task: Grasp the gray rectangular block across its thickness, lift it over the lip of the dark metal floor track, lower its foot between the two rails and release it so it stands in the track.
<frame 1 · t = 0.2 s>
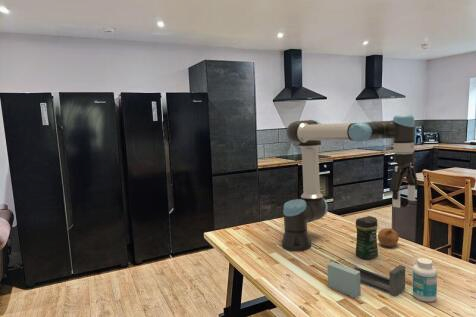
hand: (404, 203, 132), 28 cm above the table, fingers open, 13 cm apart
floor track: (374, 282, 124), on the table
coffee jar: (367, 256, 149), on the table
gray rectangular block: (343, 290, 120), on the table
pill bottle: (424, 297, 112), on the table
onion: (388, 245, 159), on the table
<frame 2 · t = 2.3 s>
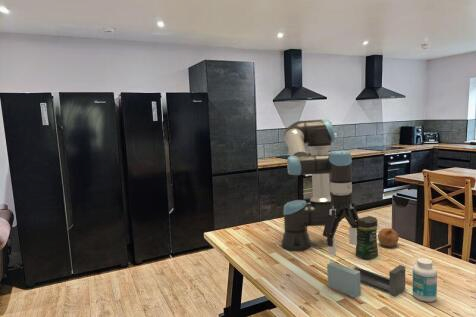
hand: (342, 249, 118), 16 cm above the table, fingers open, 13 cm apart
nothing on the table moved.
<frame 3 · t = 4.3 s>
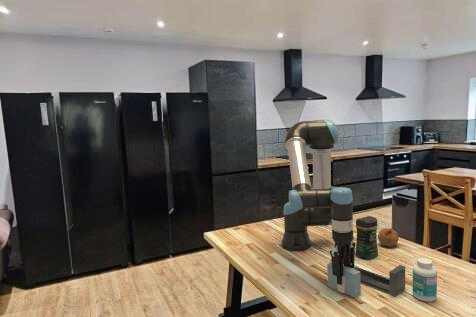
hand: (344, 289, 120), 0 cm above the table, fingers closed on gray rectangular block, 3 cm apart
gray rectangular block: (343, 290, 120), on the table, touching gripper
everything else where it was.
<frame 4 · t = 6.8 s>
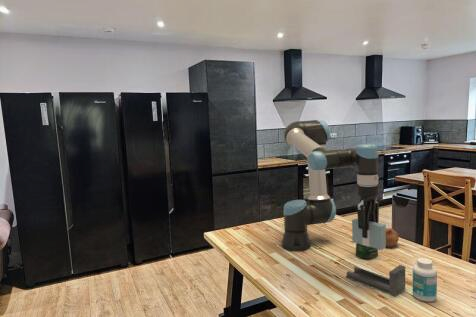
hand: (369, 243, 124), 15 cm above the table, fingers closed on gray rectangular block, 3 cm apart
gray rectangular block: (368, 244, 124), point 15 cm above the table, touching gripper
everything else where it was.
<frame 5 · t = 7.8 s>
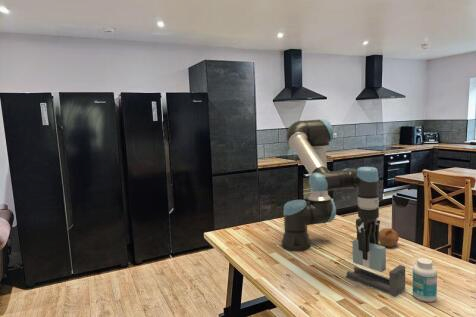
hand: (369, 265, 125), 7 cm above the table, fingers closed on gray rectangular block, 3 cm apart
gray rectangular block: (368, 265, 125), point 6 cm above the table, touching gripper
everything else where it was.
when the fingers open (3 cm above the table, at t = 8.7 s): gray rectangular block drops 2 cm, resting on floor track.
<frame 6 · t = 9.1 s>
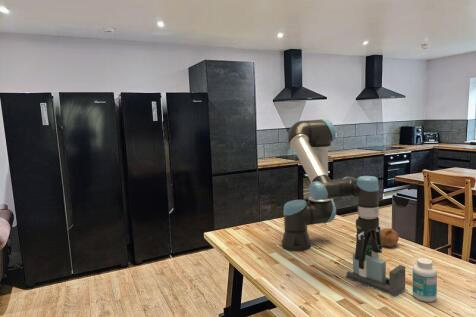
hand: (369, 271, 125), 4 cm above the table, fingers open, 9 cm apart
gray rectangular block: (369, 279, 126), point 1 cm above the table, touching floor track
everything else where it was.
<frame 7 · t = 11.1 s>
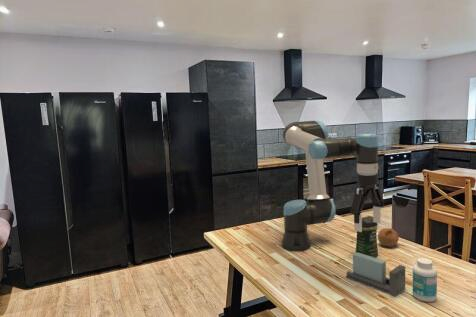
hand: (367, 226, 125), 22 cm above the table, fingers open, 13 cm apart
nothing on the table moved.
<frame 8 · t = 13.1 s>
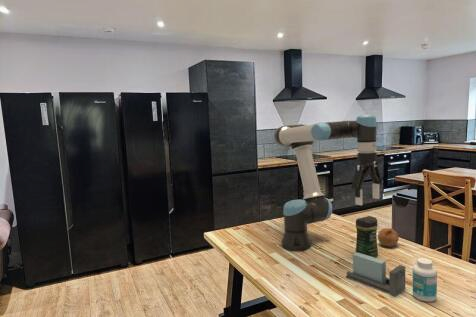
hand: (367, 201, 135), 29 cm above the table, fingers open, 13 cm apart
nothing on the table moved.
at the end: gray rectangular block inside the target area on the floor track (1.0 cm from its centre), point 0.6 cm above the floor track's base; gray rectangular block tilted 0°; the gripper is holding nothing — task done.
